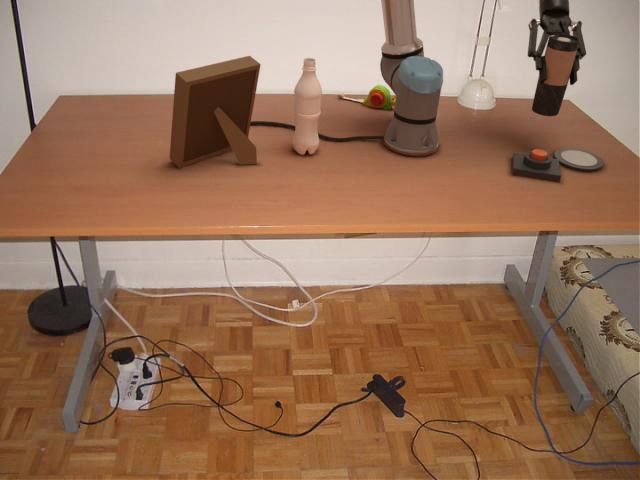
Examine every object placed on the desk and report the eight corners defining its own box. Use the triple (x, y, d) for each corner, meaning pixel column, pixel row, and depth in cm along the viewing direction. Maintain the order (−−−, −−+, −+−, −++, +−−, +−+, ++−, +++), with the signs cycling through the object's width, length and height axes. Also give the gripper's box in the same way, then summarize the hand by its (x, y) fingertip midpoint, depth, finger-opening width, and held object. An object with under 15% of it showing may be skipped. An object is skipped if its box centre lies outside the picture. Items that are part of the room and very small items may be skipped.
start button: (530, 160, 168) (532, 154, 167) (530, 154, 171) (531, 148, 170) (546, 162, 168) (547, 156, 167) (545, 156, 171) (547, 150, 170)
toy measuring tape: (392, 113, 199) (395, 93, 195) (335, 100, 205) (337, 80, 202) (399, 107, 204) (402, 87, 200) (343, 94, 210) (345, 75, 206)
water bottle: (322, 149, 175) (328, 58, 161) (311, 159, 170) (316, 66, 156) (299, 143, 177) (303, 53, 164) (287, 152, 172) (290, 61, 158)
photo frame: (169, 161, 164) (162, 65, 150) (237, 139, 177) (235, 49, 163) (204, 183, 155) (199, 84, 141) (272, 158, 168) (273, 65, 155)
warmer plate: (555, 168, 173) (556, 164, 173) (552, 148, 184) (553, 144, 183) (605, 175, 171) (606, 172, 171) (599, 155, 182) (600, 151, 181)
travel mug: (561, 118, 171) (582, 43, 160) (531, 114, 172) (550, 40, 161) (557, 107, 177) (577, 35, 166) (529, 104, 178) (547, 32, 167)
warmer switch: (512, 175, 168) (515, 161, 166) (511, 159, 177) (515, 145, 174) (559, 182, 166) (563, 168, 164) (556, 165, 175) (560, 152, 172)
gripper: (584, 11, 175) (589, 89, 171) (511, 8, 174) (515, 86, 170) (597, -4, 168) (603, 77, 164) (521, -8, 167) (525, 74, 162)
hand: (558, 81), depth 167 cm, fingers closed on travel mug, 7 cm apart
